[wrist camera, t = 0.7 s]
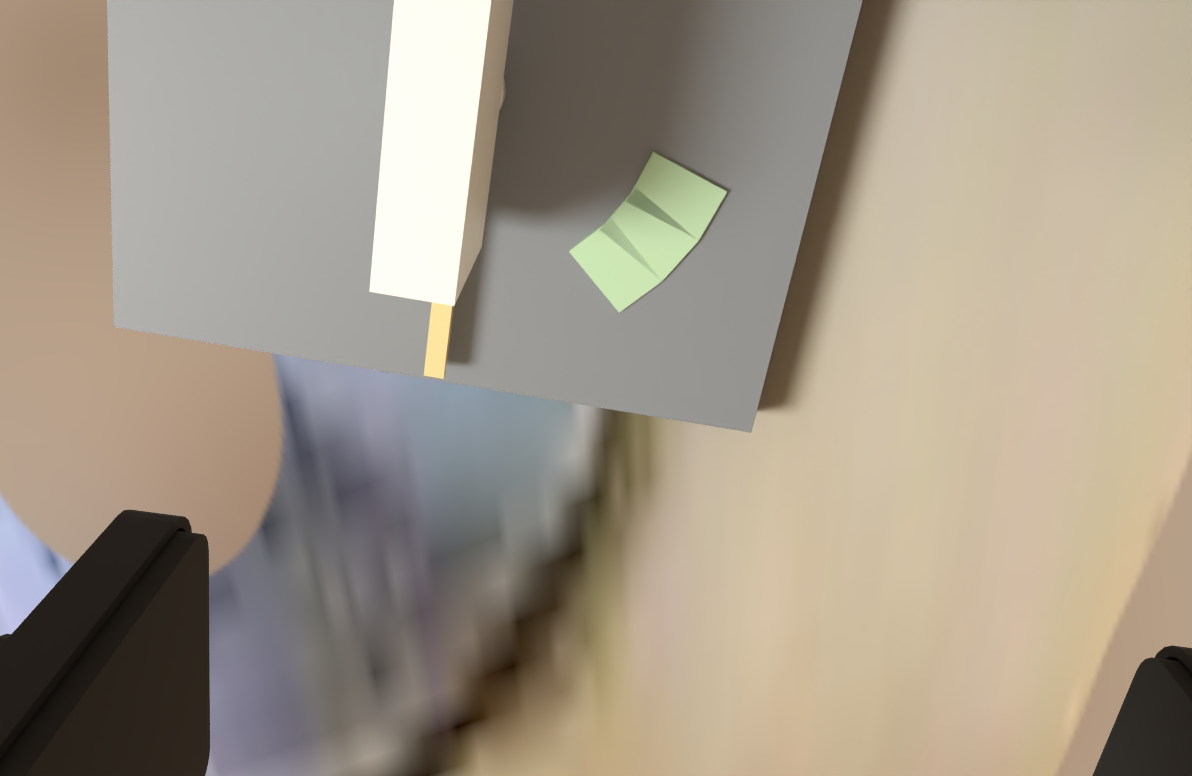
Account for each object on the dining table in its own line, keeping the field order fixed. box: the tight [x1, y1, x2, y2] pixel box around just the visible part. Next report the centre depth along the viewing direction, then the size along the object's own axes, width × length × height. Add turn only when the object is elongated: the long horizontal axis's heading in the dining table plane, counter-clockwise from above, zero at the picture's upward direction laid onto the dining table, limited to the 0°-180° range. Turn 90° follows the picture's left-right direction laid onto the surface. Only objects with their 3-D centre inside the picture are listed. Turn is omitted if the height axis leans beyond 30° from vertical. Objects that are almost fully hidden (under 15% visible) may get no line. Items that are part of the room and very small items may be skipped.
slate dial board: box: [107, 0, 863, 432], centre depth 29 cm, size 18×20×2 cm
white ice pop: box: [369, 0, 514, 379], centre depth 26 cm, size 12×2×6 cm, turn 170°
